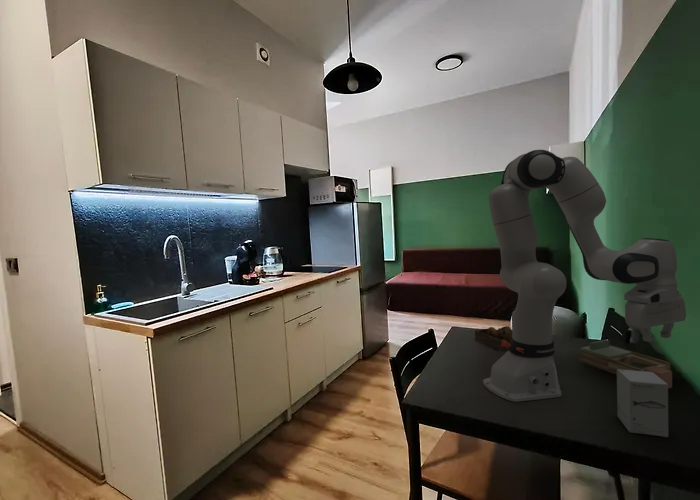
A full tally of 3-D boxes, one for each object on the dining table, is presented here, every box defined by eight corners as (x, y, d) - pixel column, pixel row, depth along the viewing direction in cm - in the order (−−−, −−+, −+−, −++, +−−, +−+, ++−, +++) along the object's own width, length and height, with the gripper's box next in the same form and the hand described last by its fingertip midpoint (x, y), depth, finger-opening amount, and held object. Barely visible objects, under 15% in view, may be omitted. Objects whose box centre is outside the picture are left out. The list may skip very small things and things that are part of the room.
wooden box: (639, 383, 100) (639, 370, 99) (579, 361, 118) (579, 350, 118) (670, 375, 103) (670, 362, 103) (608, 355, 122) (608, 344, 122)
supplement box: (629, 433, 77) (628, 380, 76) (616, 416, 84) (615, 368, 83) (670, 438, 74) (669, 384, 73) (653, 420, 81) (652, 370, 80)
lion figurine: (516, 347, 134) (515, 326, 134) (507, 350, 132) (506, 328, 131) (487, 338, 147) (486, 319, 147) (478, 341, 145) (477, 321, 145)
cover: (609, 359, 110) (609, 349, 109) (581, 349, 119) (580, 341, 119) (631, 354, 112) (630, 345, 112) (601, 345, 122) (601, 337, 122)
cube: (661, 390, 95) (661, 373, 95) (643, 384, 99) (643, 368, 99) (672, 387, 96) (671, 371, 96) (654, 381, 100) (653, 365, 100)
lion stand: (500, 351, 131) (499, 340, 131) (475, 340, 146) (474, 330, 146) (515, 348, 133) (515, 337, 133) (489, 337, 148) (489, 328, 148)
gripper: (667, 287, 102) (667, 331, 103) (619, 294, 97) (620, 341, 97) (693, 290, 96) (693, 337, 97) (644, 298, 90) (645, 347, 91)
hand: (656, 339), depth 97 cm, fingers open, 6 cm apart
